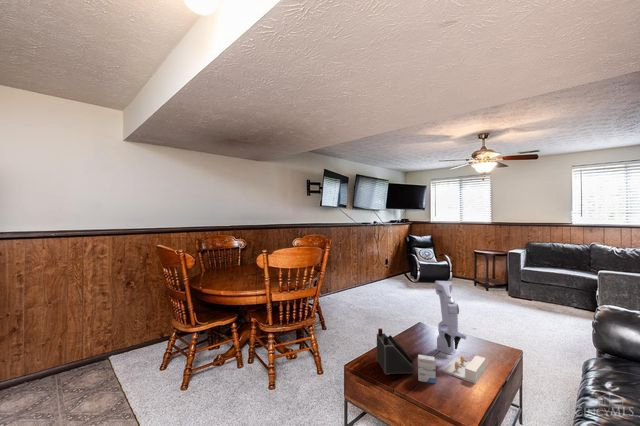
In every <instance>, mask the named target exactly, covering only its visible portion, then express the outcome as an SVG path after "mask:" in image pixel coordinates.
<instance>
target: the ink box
mask: <svg viewBox="0 0 640 426" xmlns="http://www.w3.org/2000/svg"><path fill="white" fill-rule="evenodd" d="M436 374H437V373H436V358H435V356H430V355H425V354H418V355H417V377H418V378H417V379H418V380H417V381H419V382H424V383H429V384H437V383H436V379H437V378H436Z"/></svg>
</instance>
